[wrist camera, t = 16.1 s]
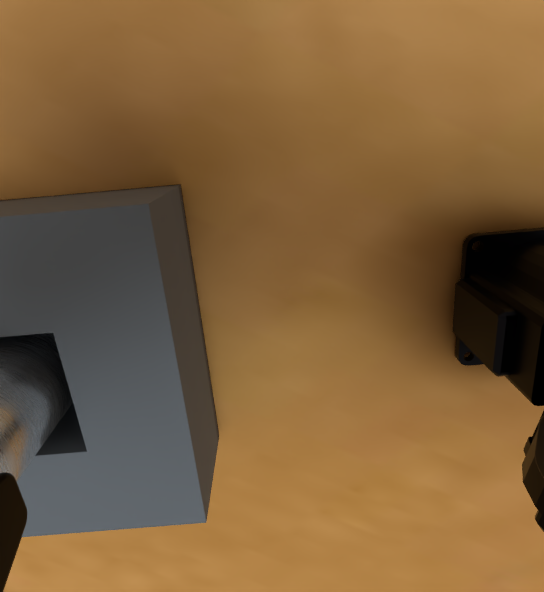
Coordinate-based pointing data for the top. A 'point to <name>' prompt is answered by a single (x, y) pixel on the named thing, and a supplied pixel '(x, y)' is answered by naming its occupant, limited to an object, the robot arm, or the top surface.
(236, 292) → the top surface
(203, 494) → the slate socket block
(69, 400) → the aluminium peg
